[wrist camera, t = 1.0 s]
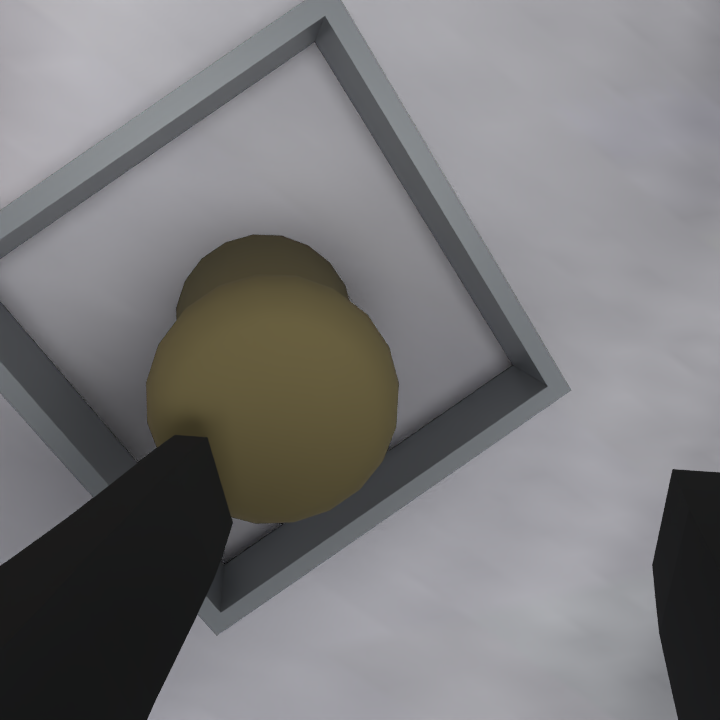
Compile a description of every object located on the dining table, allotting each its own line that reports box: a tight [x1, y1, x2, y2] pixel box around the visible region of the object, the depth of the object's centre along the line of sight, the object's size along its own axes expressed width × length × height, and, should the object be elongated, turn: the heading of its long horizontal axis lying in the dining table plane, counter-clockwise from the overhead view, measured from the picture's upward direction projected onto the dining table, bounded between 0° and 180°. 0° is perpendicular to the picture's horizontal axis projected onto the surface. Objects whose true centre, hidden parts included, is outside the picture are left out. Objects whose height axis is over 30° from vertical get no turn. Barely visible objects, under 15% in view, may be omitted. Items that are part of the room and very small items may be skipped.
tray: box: [0, 0, 571, 635], centre depth 21 cm, size 14×14×3 cm
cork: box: [146, 235, 399, 524], centre depth 18 cm, size 6×6×11 cm
